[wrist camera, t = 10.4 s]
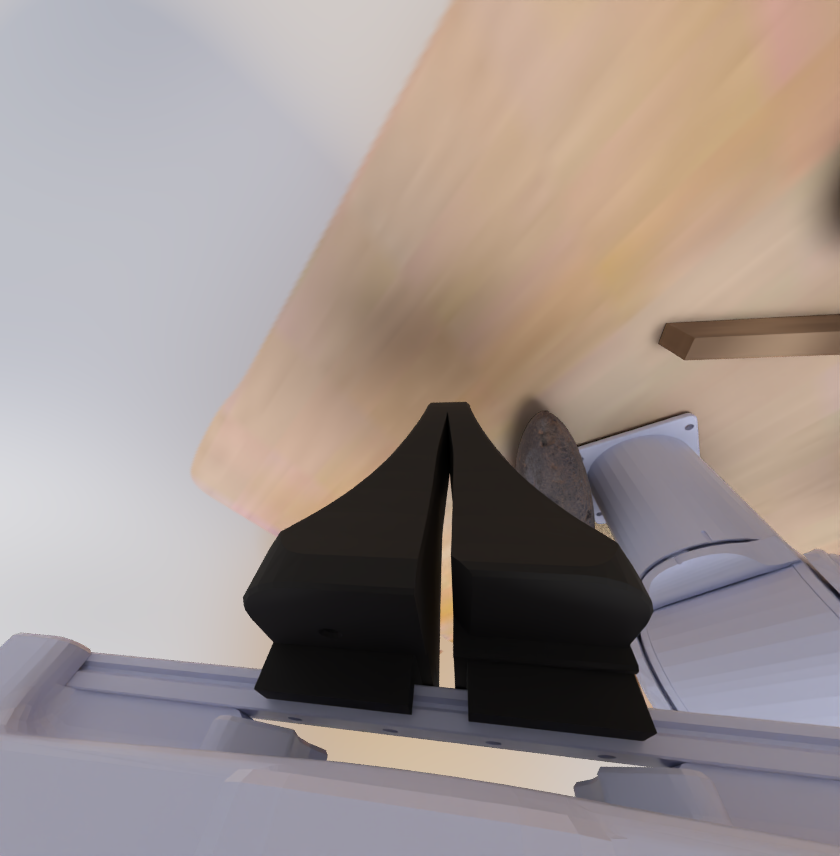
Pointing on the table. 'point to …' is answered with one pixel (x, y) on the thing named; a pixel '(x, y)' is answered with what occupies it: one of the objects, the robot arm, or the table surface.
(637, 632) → the robot arm
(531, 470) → the perforated stone tool
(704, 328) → the tray
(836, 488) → the table surface
